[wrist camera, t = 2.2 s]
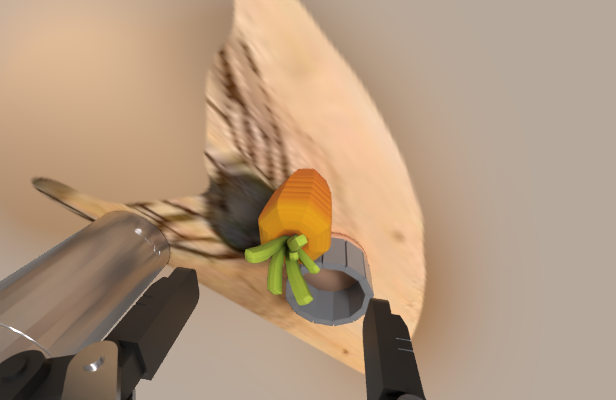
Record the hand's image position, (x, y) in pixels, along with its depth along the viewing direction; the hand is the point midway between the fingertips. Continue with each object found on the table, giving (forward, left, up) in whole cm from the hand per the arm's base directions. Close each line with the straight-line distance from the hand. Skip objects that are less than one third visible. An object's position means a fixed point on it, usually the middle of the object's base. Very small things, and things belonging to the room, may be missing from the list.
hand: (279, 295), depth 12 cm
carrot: (0, 0, -16) cm, 16 cm away
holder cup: (-3, -11, -15) cm, 19 cm away
